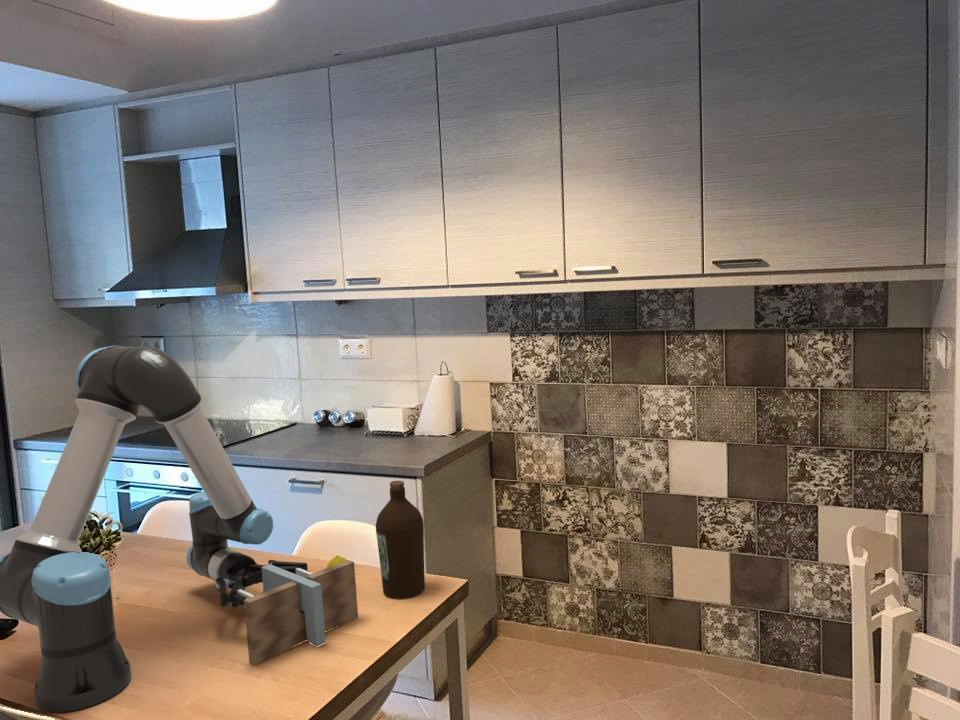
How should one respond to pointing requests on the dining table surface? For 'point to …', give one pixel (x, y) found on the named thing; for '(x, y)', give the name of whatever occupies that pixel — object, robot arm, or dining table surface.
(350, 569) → the walnut slotted board
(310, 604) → the slate slotted plate
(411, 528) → the dark brown bottle
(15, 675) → the dining table surface
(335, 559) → the lemon
